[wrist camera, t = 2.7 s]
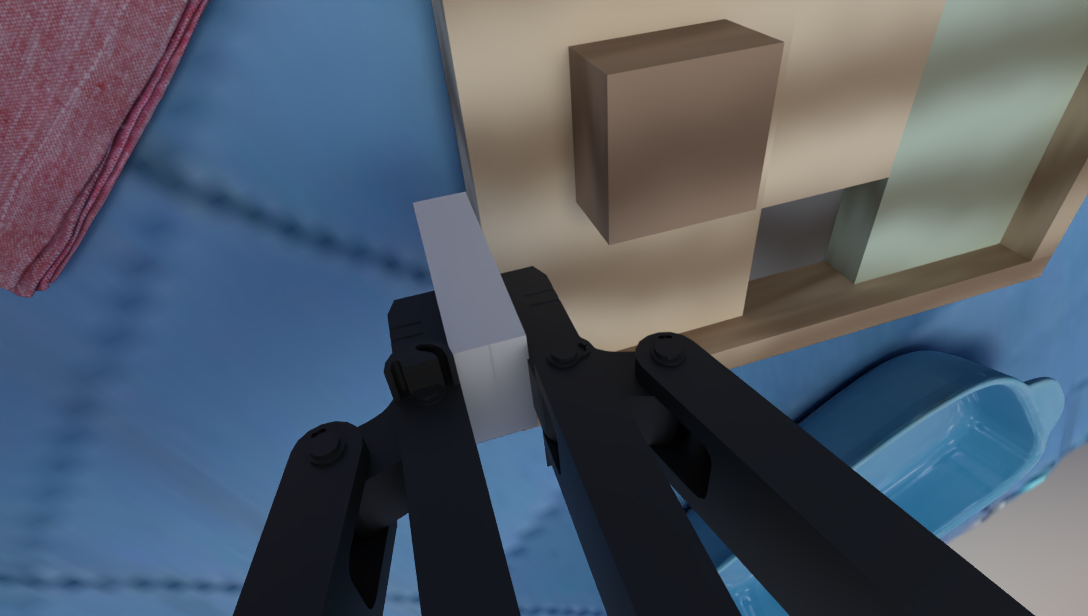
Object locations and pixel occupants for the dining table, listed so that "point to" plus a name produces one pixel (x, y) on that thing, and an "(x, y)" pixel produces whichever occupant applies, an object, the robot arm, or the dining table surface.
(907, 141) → the box
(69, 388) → the dining table surface
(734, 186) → the walnut block
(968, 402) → the casserole dish
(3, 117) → the dish towel
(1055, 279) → the dining table surface
